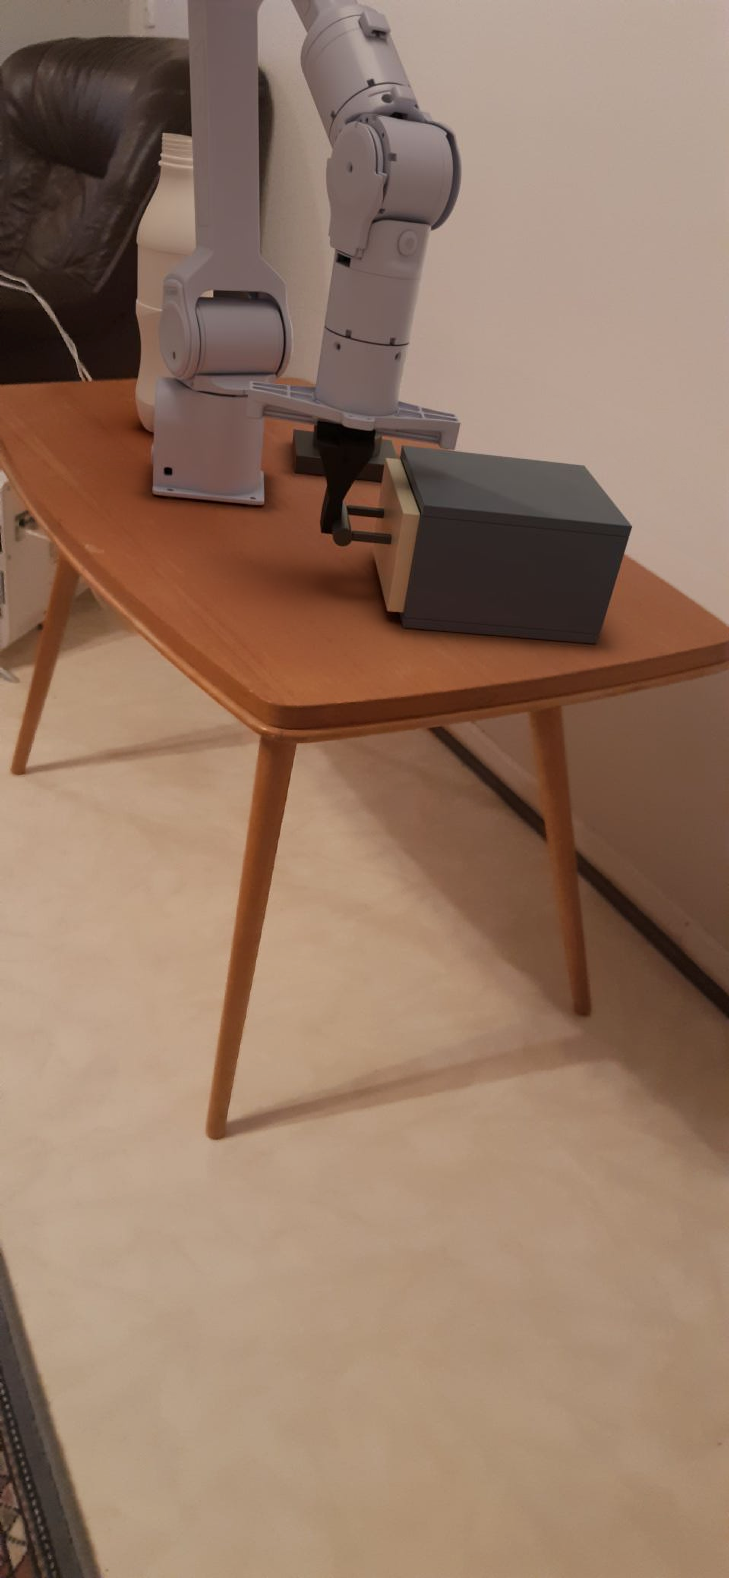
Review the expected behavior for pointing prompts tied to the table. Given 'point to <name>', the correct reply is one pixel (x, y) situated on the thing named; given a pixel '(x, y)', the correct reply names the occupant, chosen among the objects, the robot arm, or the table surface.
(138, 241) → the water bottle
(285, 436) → the table surface
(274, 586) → the table surface
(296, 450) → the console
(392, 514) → the drawer
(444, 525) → the cabinet
